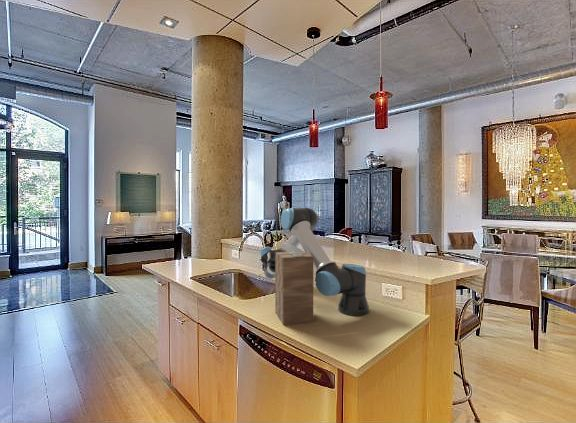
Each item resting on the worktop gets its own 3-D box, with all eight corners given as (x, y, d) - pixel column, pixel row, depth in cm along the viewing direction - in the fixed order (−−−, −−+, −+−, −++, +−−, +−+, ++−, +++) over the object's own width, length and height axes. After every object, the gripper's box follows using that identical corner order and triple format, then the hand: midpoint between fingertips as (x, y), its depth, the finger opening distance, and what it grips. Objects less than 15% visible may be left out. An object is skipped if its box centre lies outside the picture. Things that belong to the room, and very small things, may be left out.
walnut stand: (275, 312, 156) (275, 251, 155) (302, 310, 160) (302, 250, 159) (283, 325, 141) (283, 257, 140) (313, 322, 144) (313, 255, 143)
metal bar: (281, 247, 166) (281, 242, 166) (286, 247, 167) (286, 242, 167) (295, 256, 141) (295, 250, 141) (301, 256, 142) (301, 249, 142)
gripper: (295, 271, 191) (305, 259, 173) (254, 273, 185) (259, 261, 166) (293, 259, 194) (303, 246, 176) (253, 261, 188) (258, 248, 170)
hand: (281, 253), depth 171 cm, fingers open, 13 cm apart
